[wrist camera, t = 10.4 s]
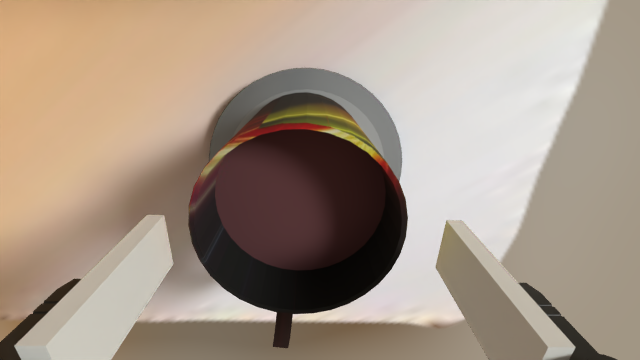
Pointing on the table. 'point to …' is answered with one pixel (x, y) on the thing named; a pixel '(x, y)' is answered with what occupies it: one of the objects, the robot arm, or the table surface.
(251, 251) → the mug
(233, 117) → the plate
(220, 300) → the table surface
